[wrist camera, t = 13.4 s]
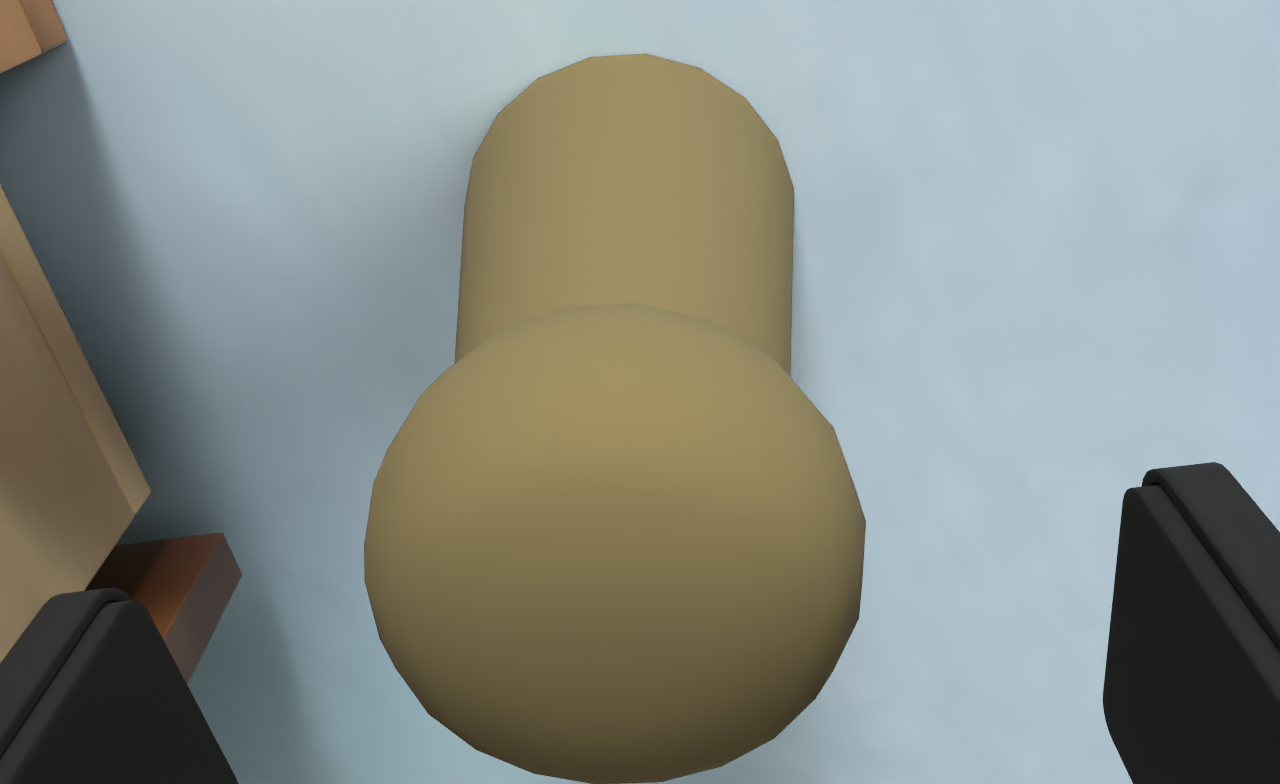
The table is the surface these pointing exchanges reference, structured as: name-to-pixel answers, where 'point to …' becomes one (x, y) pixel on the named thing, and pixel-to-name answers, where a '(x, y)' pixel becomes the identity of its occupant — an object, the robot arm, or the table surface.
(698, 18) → the table surface
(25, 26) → the cabinet
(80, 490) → the drawer
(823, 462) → the wooden game pawn
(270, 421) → the table surface
